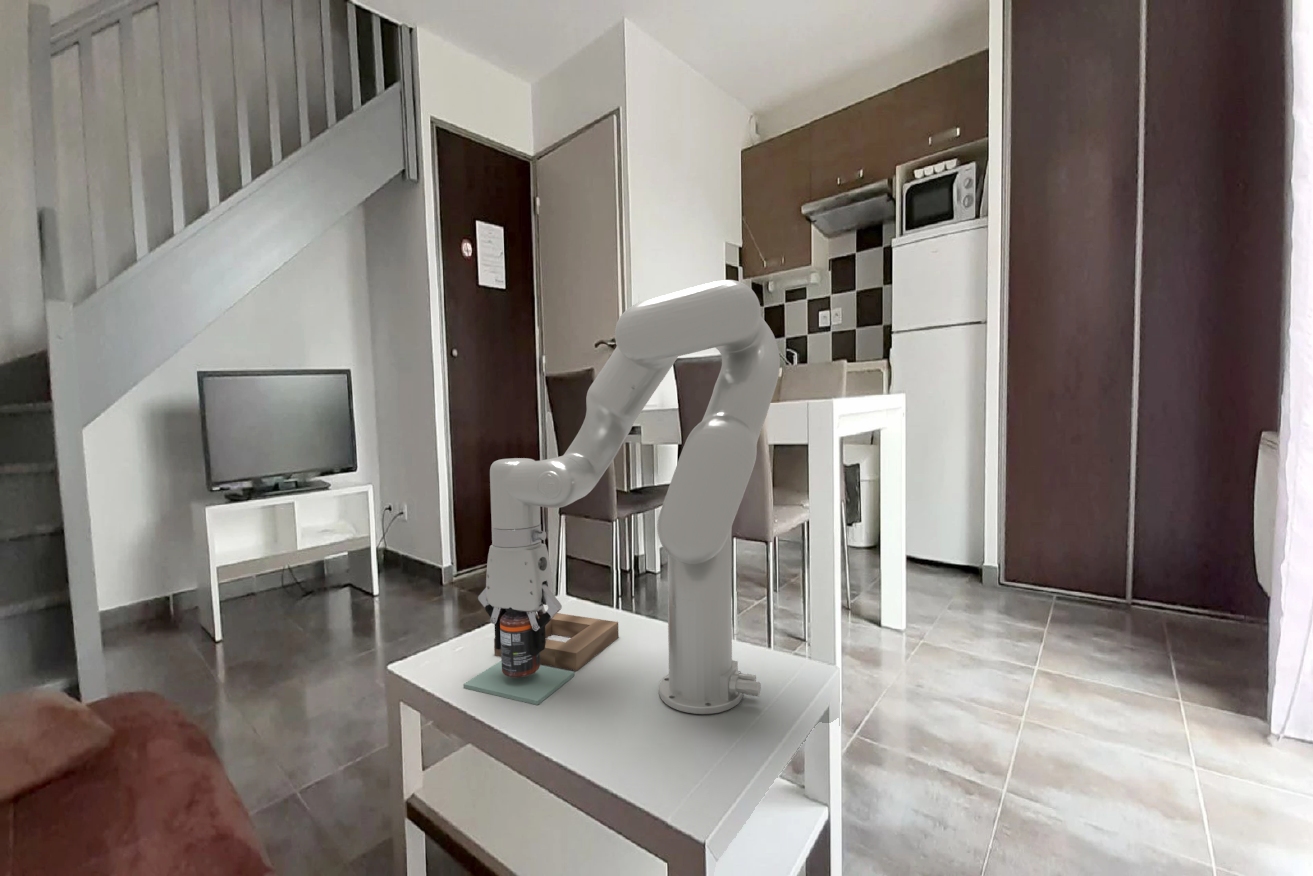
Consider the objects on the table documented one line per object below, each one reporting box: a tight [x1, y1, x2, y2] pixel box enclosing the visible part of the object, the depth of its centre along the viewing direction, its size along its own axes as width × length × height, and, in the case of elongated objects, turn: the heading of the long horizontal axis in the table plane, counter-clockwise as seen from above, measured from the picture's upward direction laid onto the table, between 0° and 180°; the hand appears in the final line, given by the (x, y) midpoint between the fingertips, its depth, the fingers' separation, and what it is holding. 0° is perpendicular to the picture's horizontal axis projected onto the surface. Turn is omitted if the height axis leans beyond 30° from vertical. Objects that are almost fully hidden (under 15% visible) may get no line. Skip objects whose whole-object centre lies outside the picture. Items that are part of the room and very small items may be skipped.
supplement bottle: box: [500, 607, 541, 677], centre depth 88 cm, size 6×6×11 cm
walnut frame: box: [493, 610, 620, 672], centre depth 102 cm, size 17×15×3 cm
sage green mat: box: [462, 660, 575, 706], centre depth 89 cm, size 14×10×1 cm
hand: (520, 648), depth 88 cm, fingers closed on supplement bottle, 5 cm apart
